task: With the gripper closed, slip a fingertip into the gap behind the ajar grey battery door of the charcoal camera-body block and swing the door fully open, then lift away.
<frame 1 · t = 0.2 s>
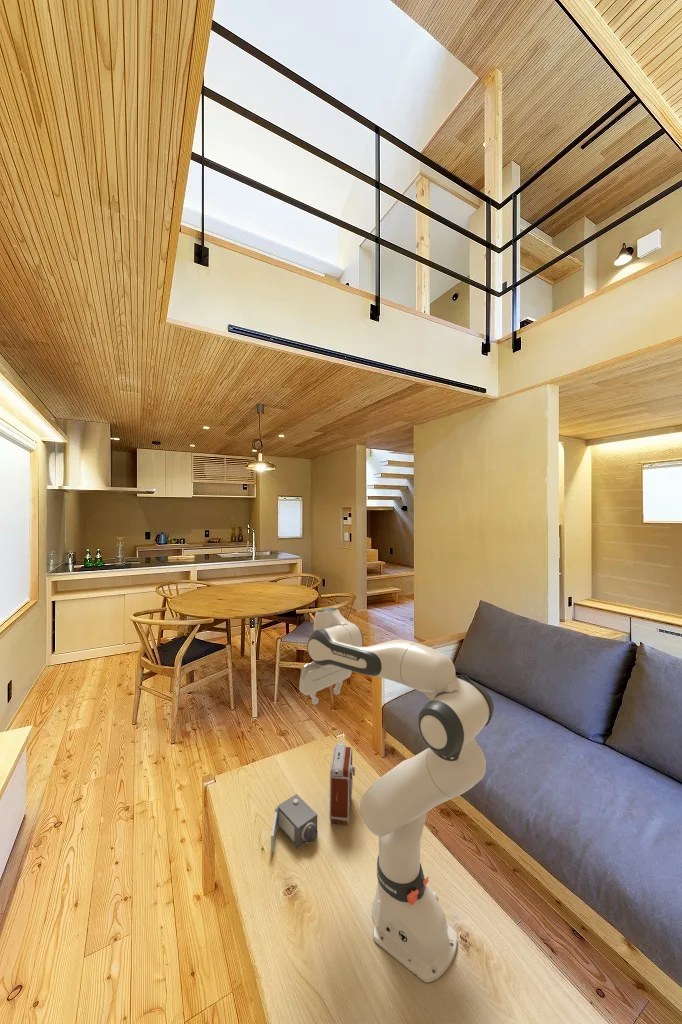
hand: (326, 698, 123), 47 cm above the table, fingers open, 8 cm apart
cine camera: (341, 804, 139), on the table
camera body: (297, 830, 128), on the table
side door: (274, 829, 124), point 4 cm above the table, hinge at 40.0°
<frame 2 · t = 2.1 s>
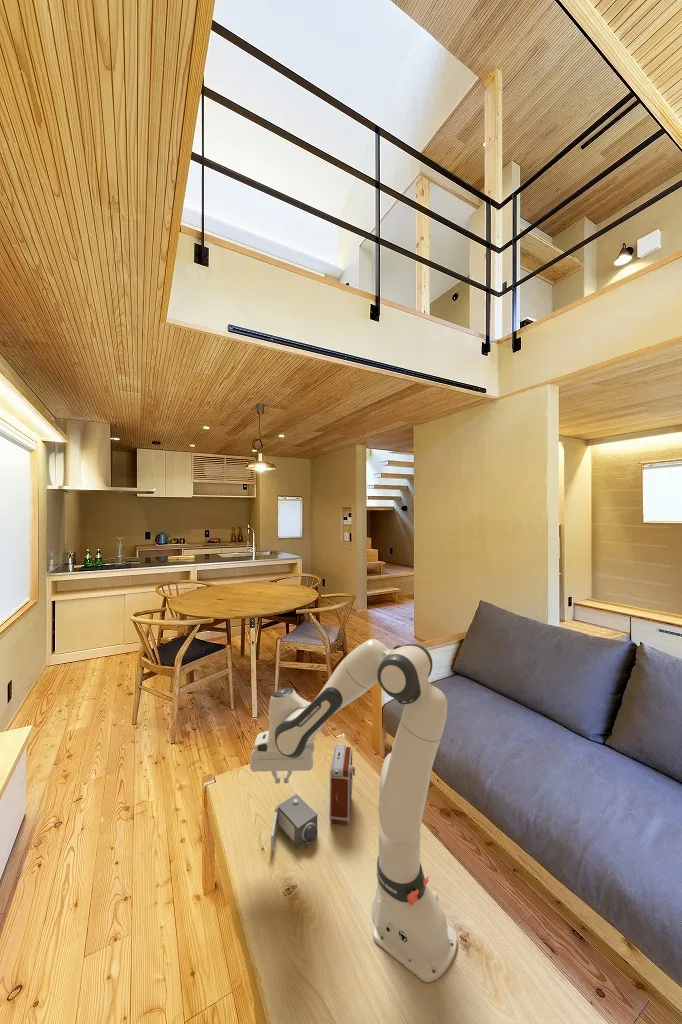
hand: (282, 782, 121), 21 cm above the table, fingers closed
nothing on the table moved.
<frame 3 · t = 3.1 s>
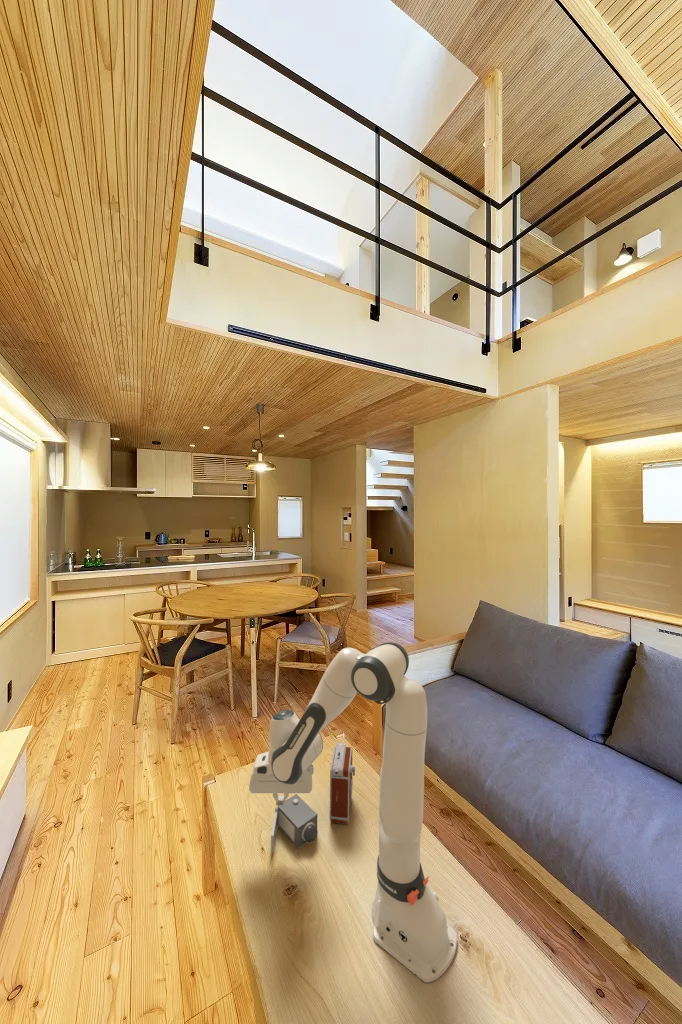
hand: (280, 803, 121), 14 cm above the table, fingers closed
nothing on the table moved.
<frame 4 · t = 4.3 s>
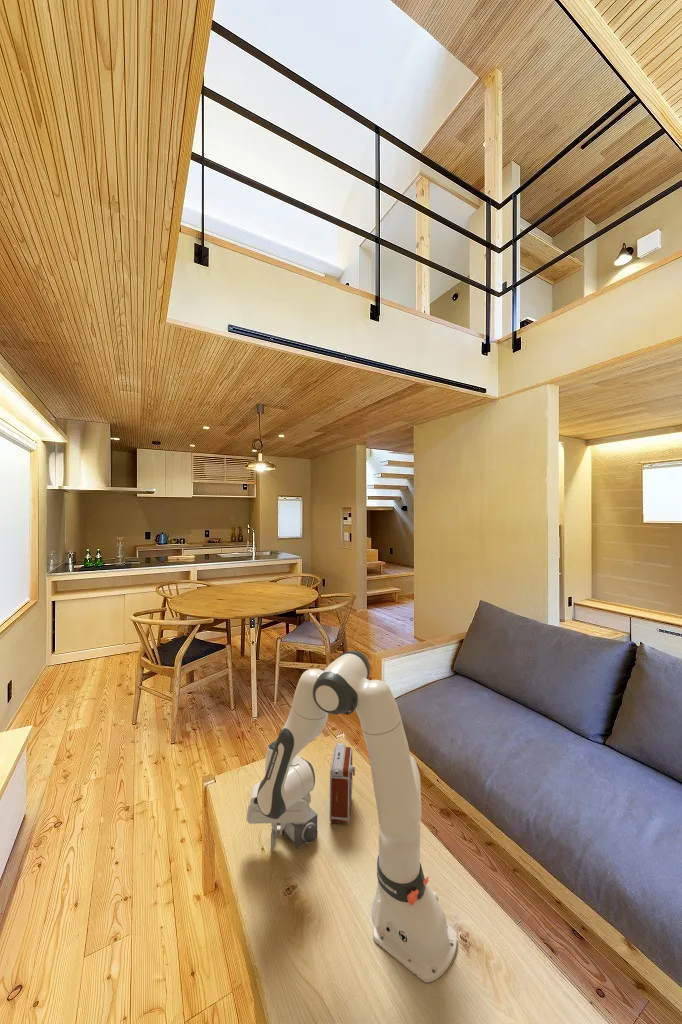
hand: (278, 833, 121), 4 cm above the table, fingers closed
side door: (274, 829, 124), point 4 cm above the table, hinge at 40.3°, touching gripper
everything else where it was.
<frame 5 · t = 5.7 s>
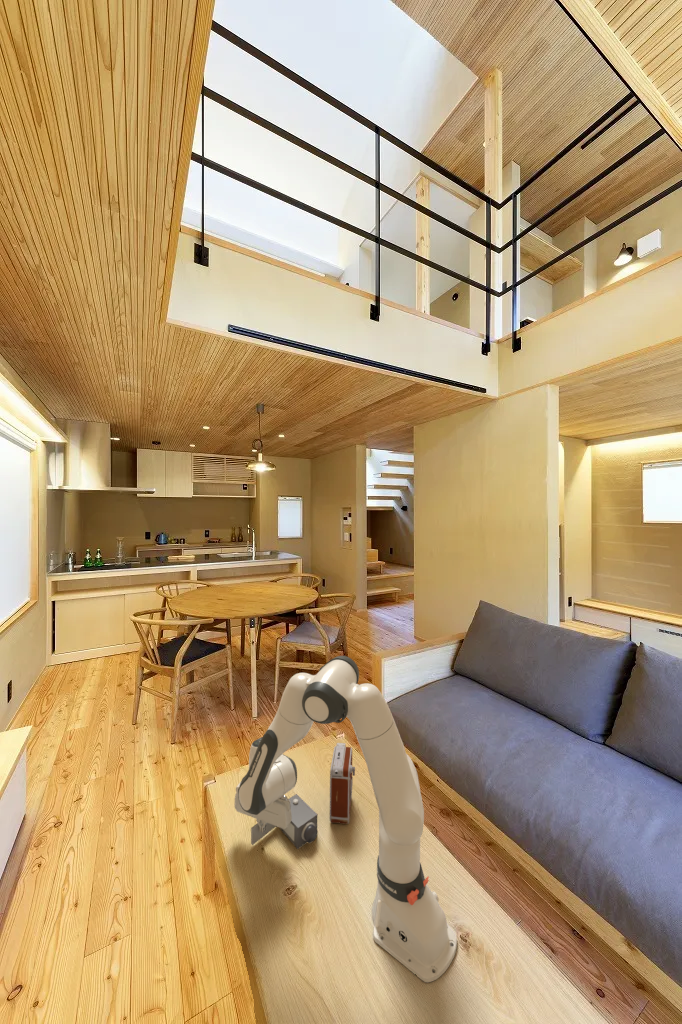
hand: (262, 830, 122), 4 cm above the table, fingers closed, pressing on side door
side door: (265, 826, 125), point 4 cm above the table, hinge at 84.4°, touching gripper
everything else where it was.
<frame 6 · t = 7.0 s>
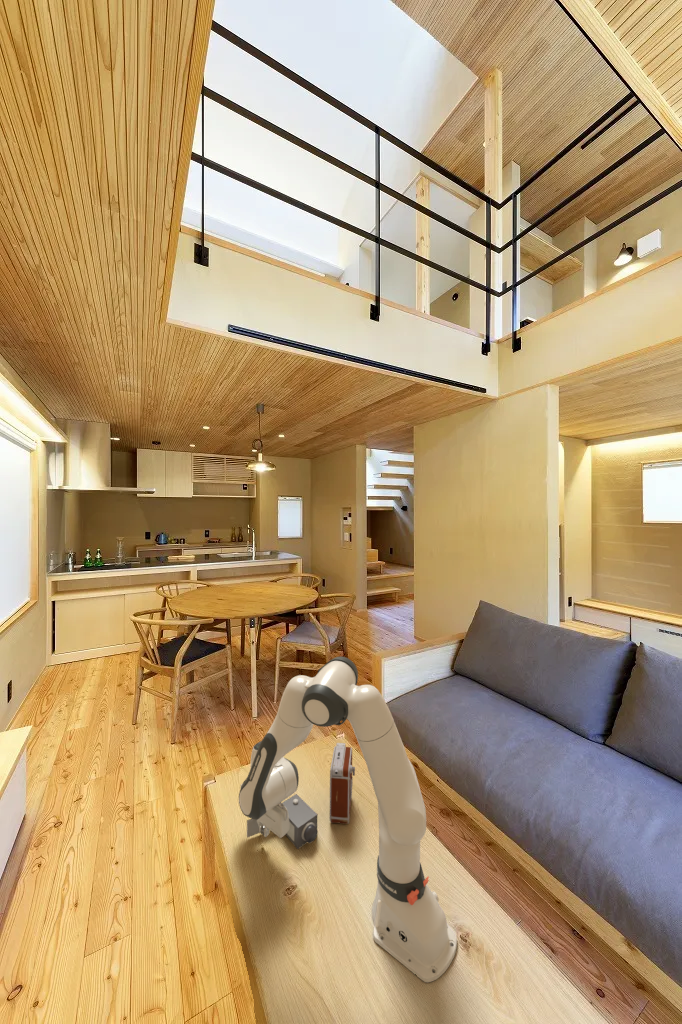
hand: (264, 833, 122), 4 cm above the table, fingers closed
side door: (262, 822, 126), point 4 cm above the table, hinge at 104.7°
everything else where it was.
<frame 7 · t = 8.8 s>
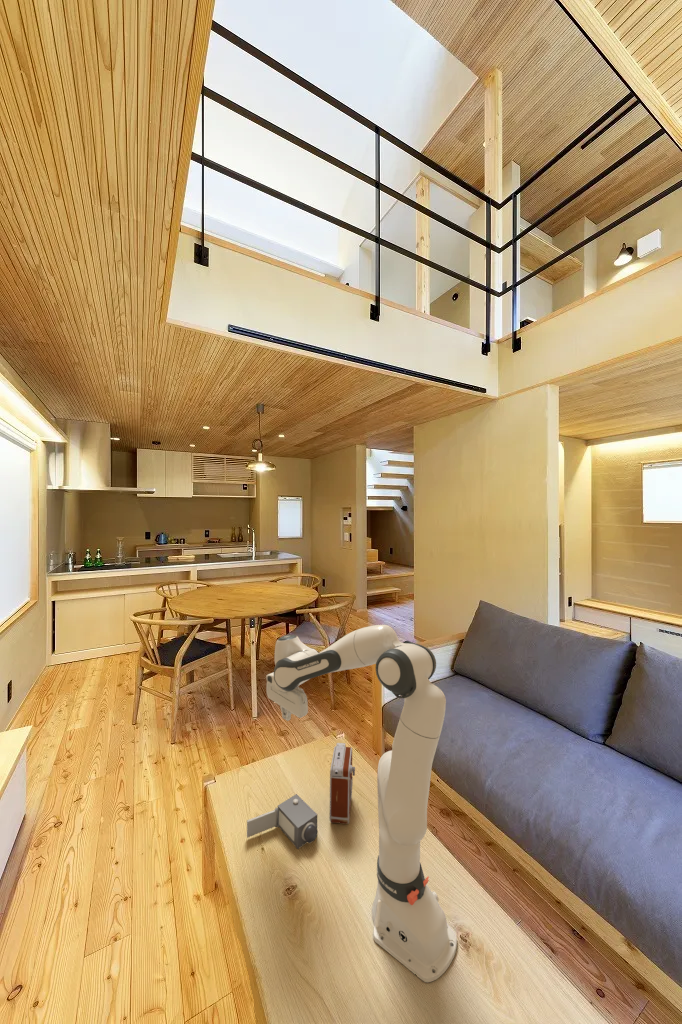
hand: (286, 718, 134), 34 cm above the table, fingers closed
nothing on the table moved.
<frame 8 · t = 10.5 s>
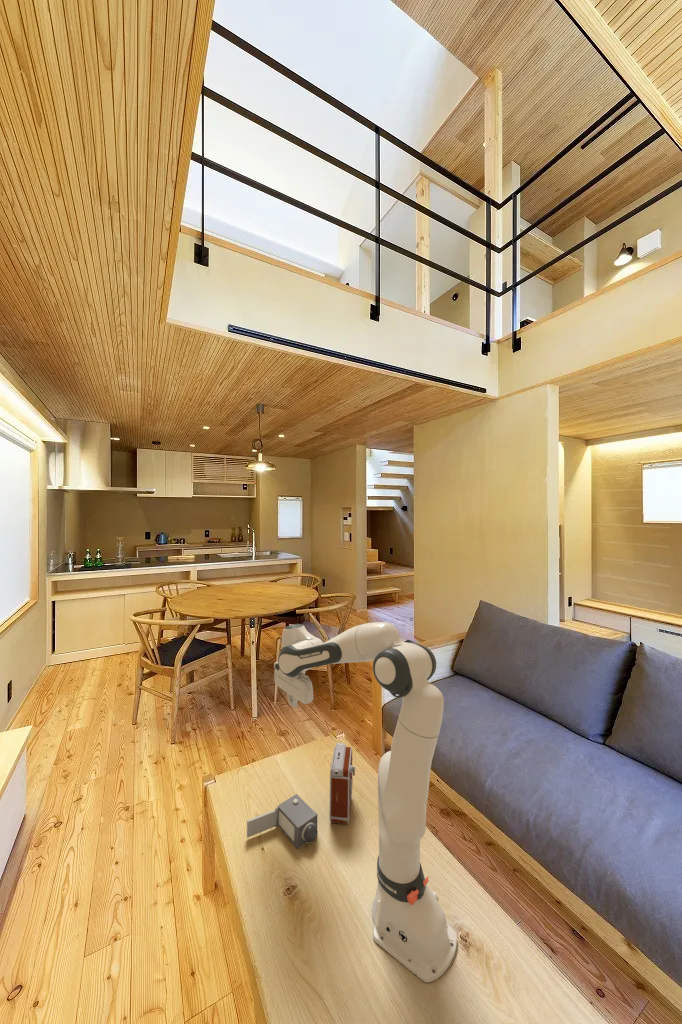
hand: (293, 705, 138), 37 cm above the table, fingers closed
nothing on the table moved.
at the end: side door at +105° (first picture: +40°) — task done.
